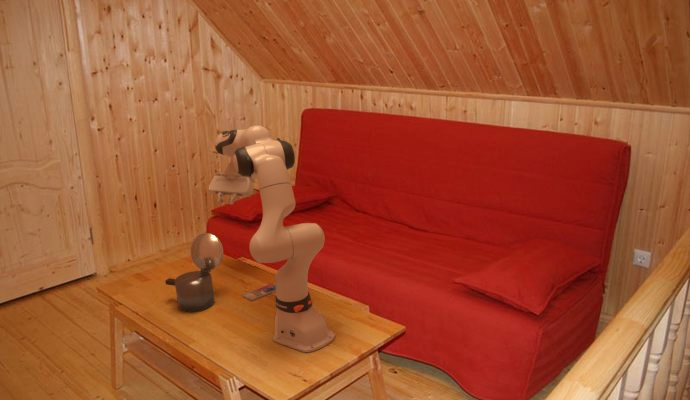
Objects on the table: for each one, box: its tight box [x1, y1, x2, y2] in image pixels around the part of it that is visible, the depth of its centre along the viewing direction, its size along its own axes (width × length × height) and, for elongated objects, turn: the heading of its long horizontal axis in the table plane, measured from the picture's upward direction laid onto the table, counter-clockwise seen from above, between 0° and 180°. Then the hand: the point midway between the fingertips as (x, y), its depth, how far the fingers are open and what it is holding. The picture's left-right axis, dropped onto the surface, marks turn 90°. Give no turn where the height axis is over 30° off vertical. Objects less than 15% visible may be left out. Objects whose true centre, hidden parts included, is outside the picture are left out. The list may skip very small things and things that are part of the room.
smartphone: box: [242, 283, 276, 302], centre depth 228 cm, size 7×1×15 cm
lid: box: [190, 232, 224, 273], centre depth 226 cm, size 16×15×3 cm
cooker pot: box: [165, 270, 216, 313], centre depth 221 cm, size 14×20×11 cm
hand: (225, 203), depth 235 cm, fingers open, 4 cm apart
